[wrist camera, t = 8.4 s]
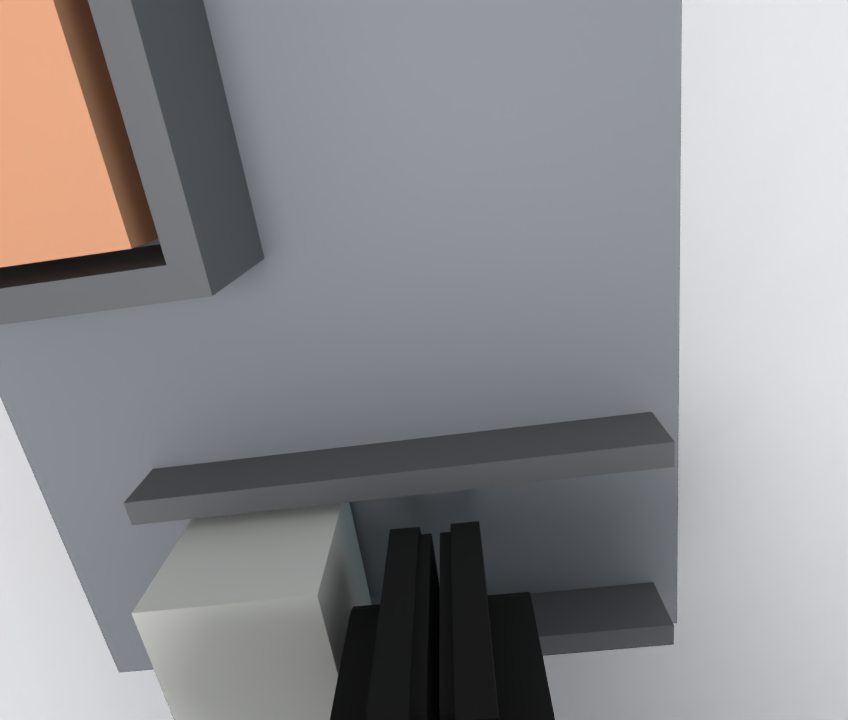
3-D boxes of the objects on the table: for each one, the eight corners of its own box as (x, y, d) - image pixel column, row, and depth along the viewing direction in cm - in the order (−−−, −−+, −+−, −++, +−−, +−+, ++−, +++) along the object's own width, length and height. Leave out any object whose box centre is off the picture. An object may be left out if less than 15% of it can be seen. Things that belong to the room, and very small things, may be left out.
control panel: (647, 562, 15) (729, 733, 11) (156, 609, 16) (53, 783, 12) (634, -422, 9) (817, -943, 5) (-171, -248, 10) (-648, -540, 6)
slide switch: (372, 604, 13) (352, 732, 10) (239, 616, 13) (184, 746, 10) (345, 487, 12) (317, 596, 9) (202, 502, 12) (131, 613, 9)
